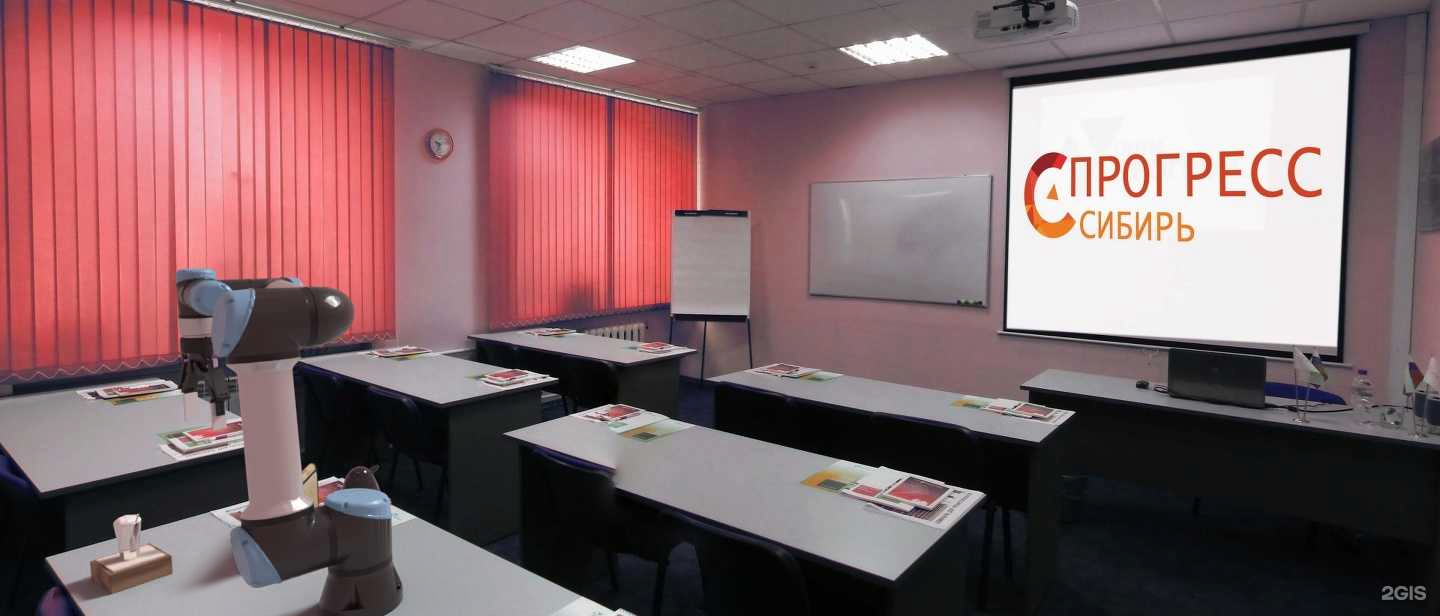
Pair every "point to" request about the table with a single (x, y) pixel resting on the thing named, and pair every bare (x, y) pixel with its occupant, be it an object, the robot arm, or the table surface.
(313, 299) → the robot arm
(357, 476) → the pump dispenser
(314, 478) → the clutch purse
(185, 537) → the table surface
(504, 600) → the table surface
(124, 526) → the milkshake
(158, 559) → the dock
